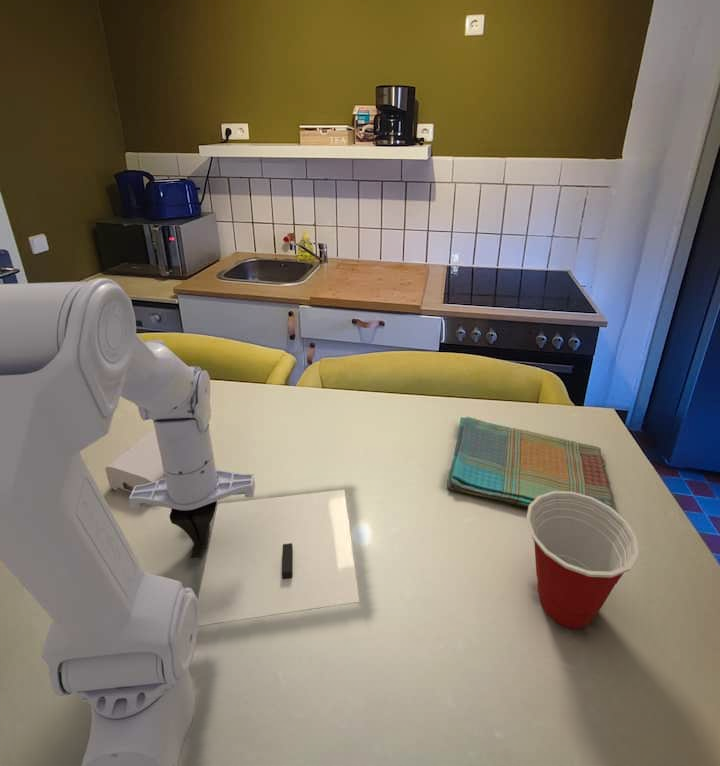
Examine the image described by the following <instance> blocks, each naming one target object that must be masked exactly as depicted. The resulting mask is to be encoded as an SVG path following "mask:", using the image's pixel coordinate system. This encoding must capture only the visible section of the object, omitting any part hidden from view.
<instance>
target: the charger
mask: <svg viewBox="0 0 720 766" xmlns="http://www.w3.org/2000/svg"><path fill="white" fill-rule="evenodd" d="M104 470H105V473H106V478H107V481H108V484H109V487H110V488H111V489H113V490H114V491H117V490H118V489H121V490H124V491H126V492H130V493H132V490H133V488H134V486H138V485H144V484H148V483H151V482H154V481H157V480H160V479H163V478H165V475H164V470H163V466H162V461H161V456H160V451H159V446H158V442H157V437H156V432H155V429H154V430H150V431H148V432H147V433H146V434H145V435H144V436H142V437H141V438H140V439H138V440H137V441H136V442H135V443H134V444H133V445H131V446H130V447H129V448H128V449H126V450H125V451H124V452H122V454H120V455H119V456H118V457H117V458H116V459H114V460H113V461H112V462H111V463H109V464H108V465H107V466H106V467H105V468H104Z"/></svg>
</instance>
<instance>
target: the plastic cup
mask: <svg viewBox="0 0 720 766" xmlns="http://www.w3.org/2000/svg"><path fill="white" fill-rule="evenodd" d="M525 521H526V524H527V526H528V530H529V532H530V536H531V538H532V541H533V543H534V557H535V558H534V560H535V571H536V572H535V573H536V579H537V593H538V598H539V601H540V604H541V606H542V608H543V609H544V611H545V613H546V614H547V615H548V616H549V617H550V618H551V619H552V620H553V621H554V622H556V623H557V624H559V625H561V626H563V627H566V628H567V629H573V630H581V629H584V628H585V627H588V625H591V622H592V621H593V619H594V618H595V617H596V615H597V613H598V612H599V611H600V610H601V609H602V607H603V606H604V604H605V603H606V601H607V599H608V597H609V596H610V594H611V592H612V591H613V590H614V587H615V586H616V585H617V584H618V582H619V580H620V579H621V578H622V576H623V575H624V574H625V573H627V572H629V571H630V570H631V569H632V567H633V565H634V564H635V562H636V560H637V559H638V558H639V555H640V552H639V543H638V542H639V540H638V537H637V536H636V534H635V531H634V530H633V528H632V527H631V525H630V523H629V522H628V521H627V520H626V519H625V518H624V517H623V516H621V515H620V514H619V513H618V512H617V511H616V509H615V510H613V509H612V508H611V507H609V506H608V505H606V504H604V503H602V502H600V501H598V500H596V499H594V498H593V497H590V496H586V495H583V494H579V493H575V492H571V491H552V492H549V493H546V494H543V495H540V496H538V497H537V498H536V499H535V500H534V501H533V502H532V503H531V504H530V505H529V507H527V513H526V516H525Z"/></svg>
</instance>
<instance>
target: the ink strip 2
mask: <svg viewBox="0 0 720 766" xmlns="http://www.w3.org/2000/svg"><path fill="white" fill-rule="evenodd" d="M292 569H293V548H292V543H289V544H283V552H282V579H289V578H292Z"/></svg>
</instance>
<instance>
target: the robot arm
mask: <svg viewBox="0 0 720 766" xmlns="http://www.w3.org/2000/svg"><path fill="white" fill-rule="evenodd" d="M136 320H137V319H136V314H135V310H134V307H133V302H132V299H131V297H130V296H128V294H127V292H125V291H124V290H123V288H122V287H121V286H120V285H119V283H118V282H116V281H115V280H113V279H110V278H107V277H99V278H98V277H97V278H93V279H89V280H88V281H87V280H86V281H60V282H55V281H54V282H27V283H23V282H22V283H0V561H1V562H2V564H3V565H4V566H5V567H6V568H7V570H9V572H10V573H11V574H12V575H13V577H14V578H16V580H18V582H19V583H20V584H21V585H22V586H23V588H25V590H26V591H27V592H28V593H29V594H30V595H31V597H32V598H33V599H34V600H35V601H36V602H37V603H38V604H39V606H41V608H42V609H43V611H44V612H46V613H47V615H48V616H49V617H50V618H51V619H52V622H51V624H50V627H49V629H48V632H47V635H46V637H45V640H44V645H43V647H42V650H41V651H42V652H41V659H43V660H44V661H45V663H46V664H47V667H48V678H49V681H50V685H51V689H52V691H53V693H54V694H55V695H57V696H60V697H64V696H69V695H72V694H73V693H76V694H77V697H78V699H79V701H80V702H85V703H88V704H90V710H91V723H90V730H89V731H90V732H89V736H88V737H89V738H88V741H87V745H86V749H85V752H84V756H83V758H82V762H81V765H80V766H179V761H180V757H181V753H182V749H183V746H184V743H185V740H186V738H187V735H188V733H189V731H190V728H191V726H192V723H193V720H194V715H195V712H196V711H195V709H196V697H195V692H194V686H193V682H192V678H191V674H190V670H189V669H190V666H191V663H192V661H193V657H194V653H195V649H196V645H197V639H198V633H199V632H198V631H199V626H198V622H199V606H198V596H197V595H196V594H195V592H194V590H193V589H192V588H191V587H184V586H183V584H182V582H181V581H179V580H177V579H173V578H169V577H166V576H162V575H161V576H160V575H157V574H152V573H148V572H145V571H144V569H143V568H142V566H141V564H140V561H139V560H138V557H137V556H136V554H135V553H134V551H133V549H132V547H131V545H130V544H129V542H128V539H127V537H126V536H125V533H124V531H123V530H122V529H121V526H120V525H119V523H118V521H117V519H116V517H115V515H114V514H113V512H112V510H111V508H110V506H109V504H108V502H107V500H106V498H105V497H104V495H103V493H102V490H100V488H99V486H98V484H97V482H96V480H95V478H94V476H93V475H92V473H91V471H90V469H89V467H88V465H87V463H86V462H85V459H84V458H83V455H82V454H81V452H82V451H83V450H84V449H87V448H88V447H89V446H91V445H92V444H94V443H96V442H97V441H99V440H100V439H102V438H103V437H105V436H106V435H108V434H109V432H110V429H111V426H112V422H113V419H114V415H115V412H116V411H117V409H118V405H119V401H120V399H121V398H122V399H124V400H127V401H129V403H133V404H134V405H135V406H136V407H137V409H138V413H139V416H140V418H141V420H142V421H143V422H144V421H147V420H151V421H153V426H154V430H155V432H156V437H157V442H158V446H159V451H160V456H161V461H162V466H163V470H164V475H165V478H163V479H160V480H157V481H154V482H151V483H148V484H144V485H138V486H134V488H133V490H131V491H132V492H130V495H129V497H128V501H129V505H130V510H131V511H137V510H141V509H142V508H143V506H147V505H152V506H158V507H163V508H167V509H170V513H169V520H170V523H171V524H173V525H175V526H177V527H179V528H181V530H183V531H184V532H185V534H187V535H188V537H189V538H190V540H191V541H192V542H193V545H194V544H195V546H196V547H203V548H204V547H207V546H208V545H209V544H208V543H209V541H210V539H209V538H210V536H211V523H212V520H213V519H214V516H215V513H216V509H217V505H218V501H220V500H223V499H226V498H228V497H231V496H238V495H244V497H245V498H246V499H247V498H254V497H255V488H256V483H255V482H256V481H255V474H254V473H238V472H232V471H227V470H220V469H216V463H215V456H214V449H213V443H212V437H211V435H212V434H211V430H210V421H211V417H212V407H211V378H210V377H211V376H210V374H209V373H208V370H206V369H204V370H202V368H201V367H200V366H199V365H198V366H197V365H195V366H188V365H187V364H186V363H185V362H184V361H183V360H182V359H181V358H180V357H178V356H177V355H176V354H175V353H174V352H173V351H172V350H171V349H169V348H168V347H167V345H166V342H164V341H163V340H161V339H157V340H155V339H153V340H146V341H143V339H142V338H141V337H140V336H139V335H138V333H137V321H136Z"/></svg>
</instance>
